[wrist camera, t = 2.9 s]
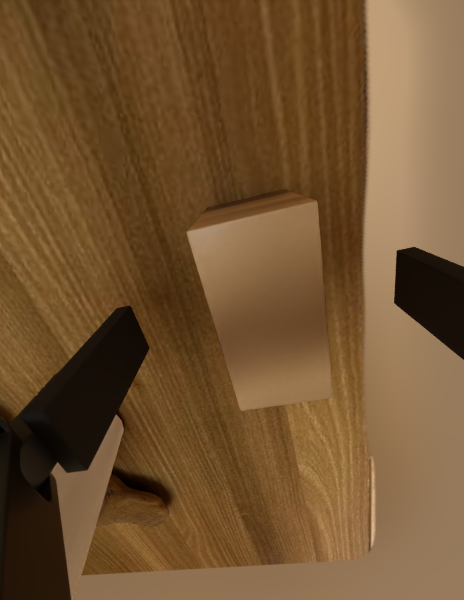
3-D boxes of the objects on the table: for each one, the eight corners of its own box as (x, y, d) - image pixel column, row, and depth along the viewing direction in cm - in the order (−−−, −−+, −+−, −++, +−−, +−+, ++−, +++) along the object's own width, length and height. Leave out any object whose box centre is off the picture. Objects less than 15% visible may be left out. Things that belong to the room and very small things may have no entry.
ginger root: (63, 493, 28) (40, 534, 25) (113, 455, 25) (94, 497, 22) (135, 526, 31) (123, 568, 28) (189, 497, 28) (182, 540, 25)
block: (207, 207, 15) (185, 231, 9) (285, 188, 14) (318, 200, 8) (240, 336, 18) (240, 411, 13) (303, 325, 18) (333, 398, 12)
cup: (166, 412, 22) (83, 679, 11) (119, 467, 26) (20, 708, 14) (53, 358, 20) (-216, 624, 8) (19, 427, 24) (-197, 676, 12)
